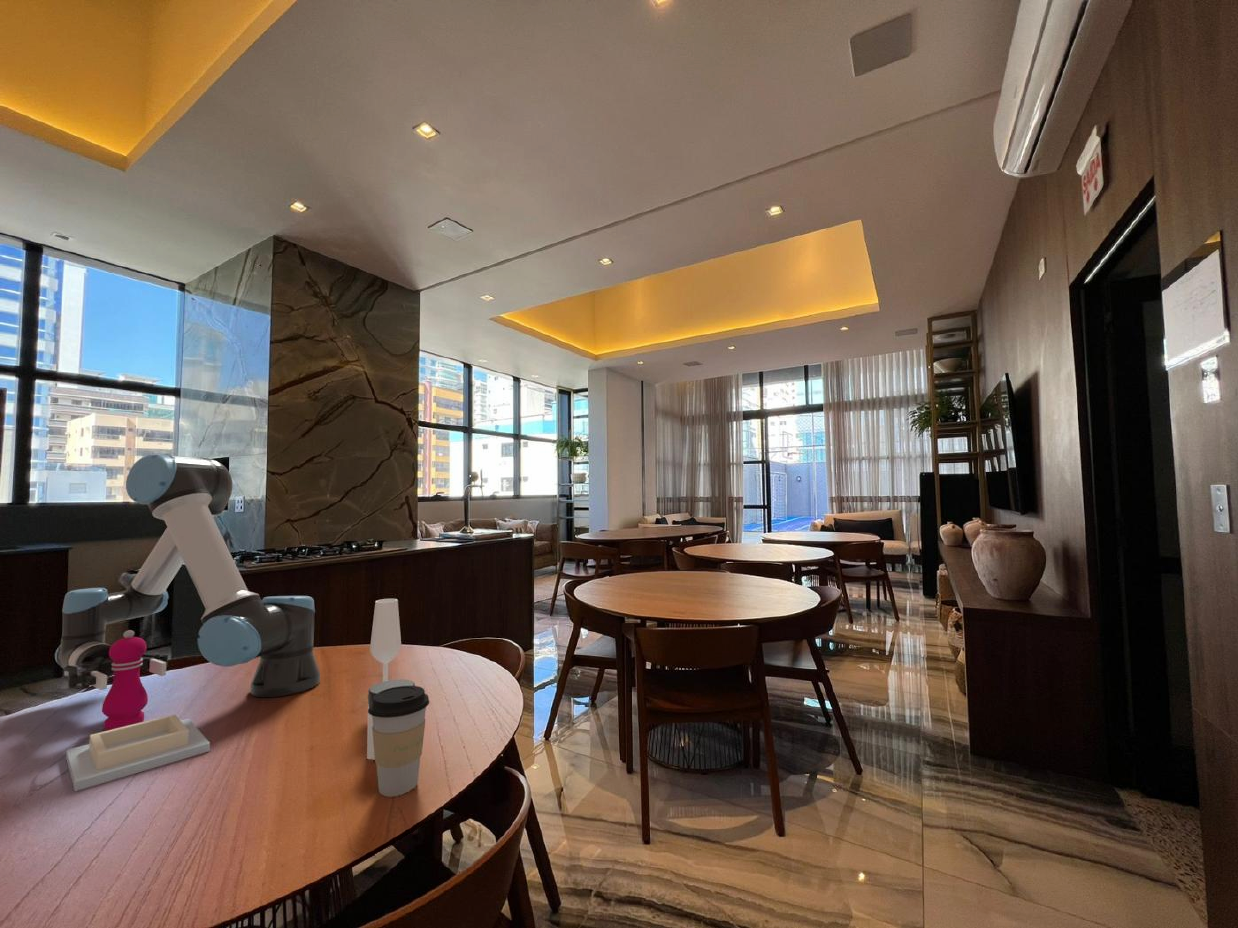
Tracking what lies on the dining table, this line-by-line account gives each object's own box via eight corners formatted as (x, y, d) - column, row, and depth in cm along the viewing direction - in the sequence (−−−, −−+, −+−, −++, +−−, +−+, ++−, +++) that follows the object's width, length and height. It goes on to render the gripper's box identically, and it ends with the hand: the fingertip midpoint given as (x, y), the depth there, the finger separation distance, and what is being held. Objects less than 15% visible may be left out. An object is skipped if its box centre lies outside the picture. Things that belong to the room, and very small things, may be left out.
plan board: (188, 725, 112) (188, 706, 113) (209, 750, 101) (210, 729, 101) (65, 757, 99) (67, 735, 99) (74, 791, 87) (76, 766, 87)
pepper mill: (154, 720, 116) (159, 627, 117) (114, 734, 109) (119, 635, 110) (133, 716, 118) (138, 625, 119) (92, 729, 111) (97, 632, 112)
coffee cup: (406, 805, 82) (408, 706, 83) (353, 799, 84) (355, 702, 85) (439, 774, 91) (440, 685, 92) (390, 769, 93) (391, 682, 94)
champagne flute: (362, 708, 120) (364, 602, 122) (385, 698, 127) (386, 597, 128) (384, 713, 118) (386, 604, 119) (406, 702, 124) (408, 598, 126)
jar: (402, 736, 106) (403, 675, 107) (424, 748, 101) (424, 684, 101) (357, 753, 99) (358, 688, 100) (377, 767, 94) (378, 698, 95)
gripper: (155, 664, 132) (196, 678, 121) (27, 691, 114) (61, 712, 102) (156, 633, 133) (197, 645, 121) (29, 656, 114) (63, 672, 103)
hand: (135, 675), depth 112 cm, fingers open, 9 cm apart
